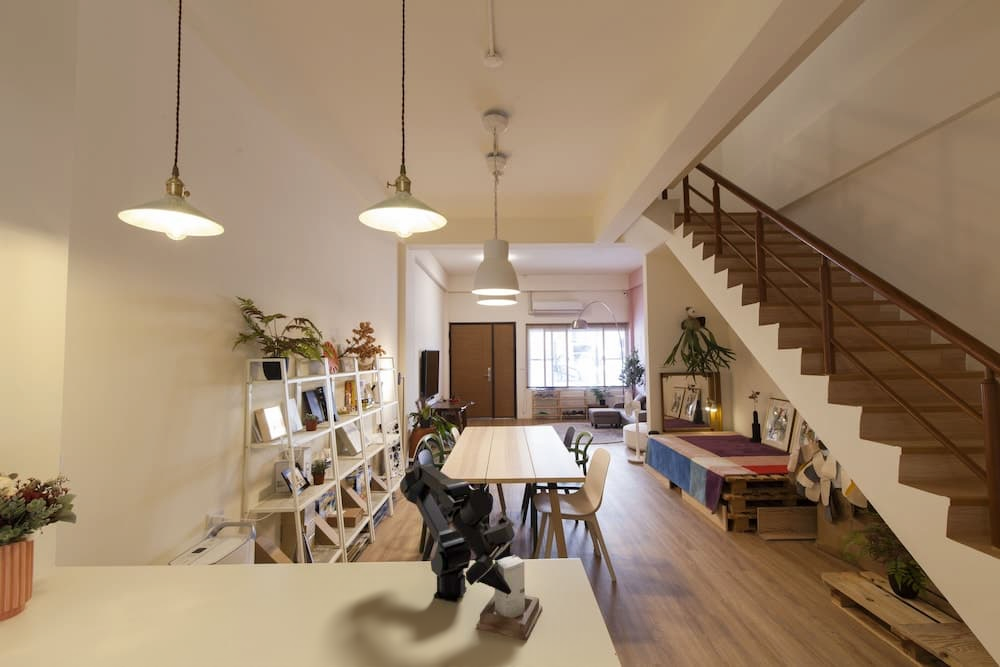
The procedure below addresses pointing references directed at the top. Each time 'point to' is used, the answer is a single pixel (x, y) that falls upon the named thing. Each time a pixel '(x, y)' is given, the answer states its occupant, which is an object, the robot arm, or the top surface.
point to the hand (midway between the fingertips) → (515, 584)
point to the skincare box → (511, 587)
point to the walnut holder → (511, 619)
